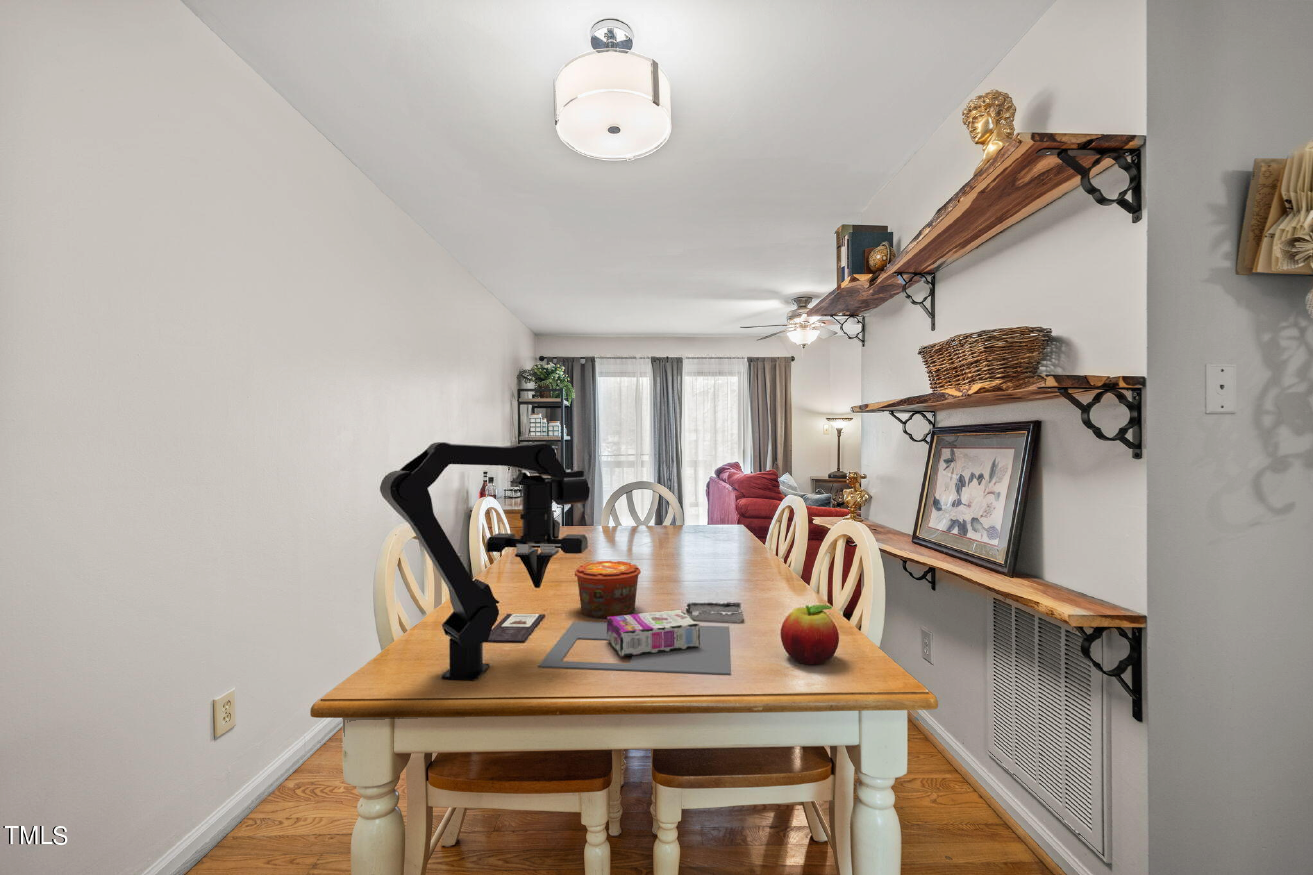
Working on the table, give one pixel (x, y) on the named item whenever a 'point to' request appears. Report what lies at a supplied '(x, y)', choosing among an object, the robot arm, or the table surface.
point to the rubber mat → (693, 660)
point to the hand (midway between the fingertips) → (537, 587)
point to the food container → (607, 588)
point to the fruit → (810, 635)
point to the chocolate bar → (515, 628)
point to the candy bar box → (652, 632)
